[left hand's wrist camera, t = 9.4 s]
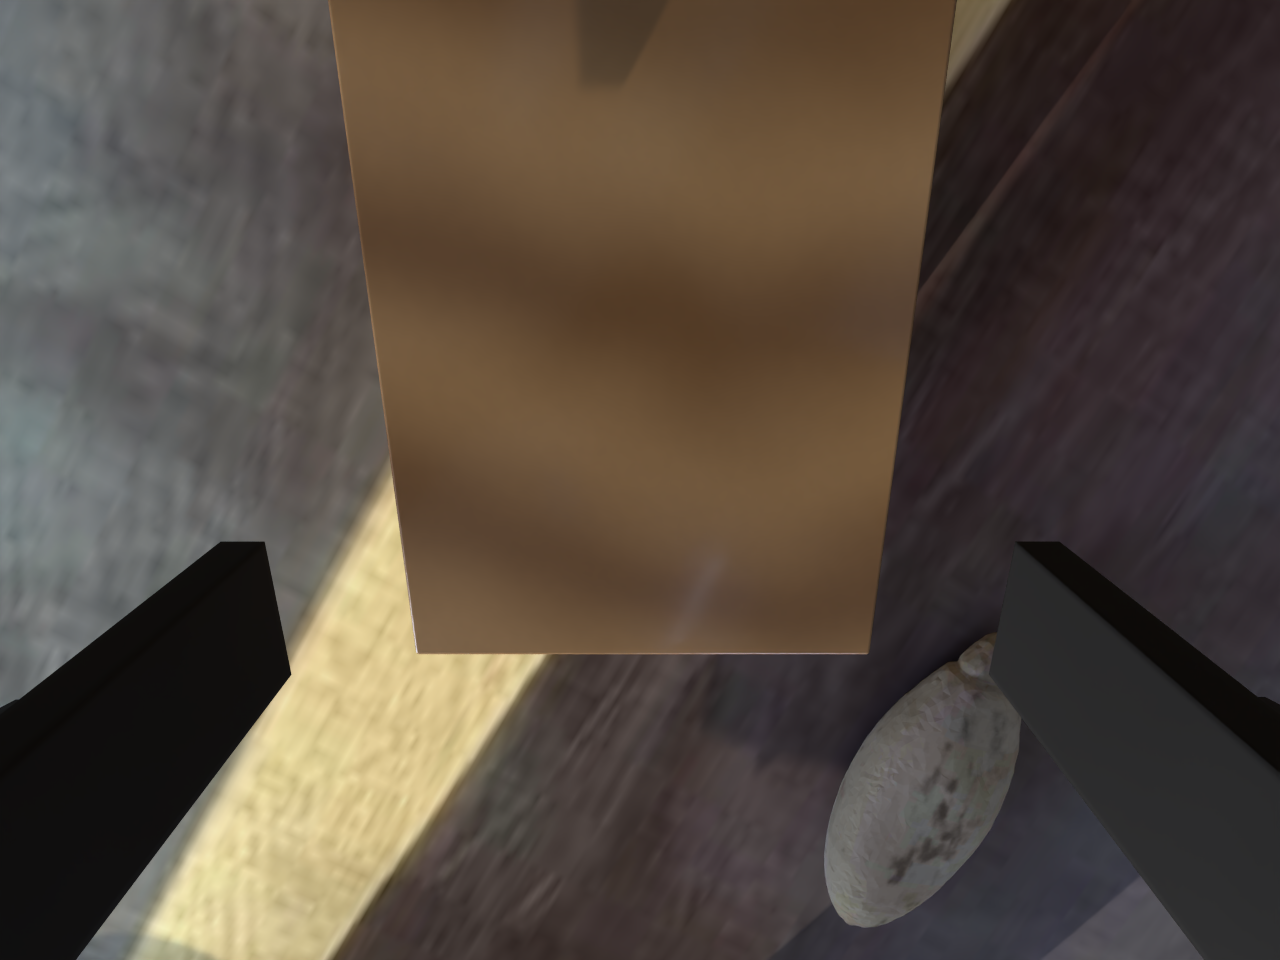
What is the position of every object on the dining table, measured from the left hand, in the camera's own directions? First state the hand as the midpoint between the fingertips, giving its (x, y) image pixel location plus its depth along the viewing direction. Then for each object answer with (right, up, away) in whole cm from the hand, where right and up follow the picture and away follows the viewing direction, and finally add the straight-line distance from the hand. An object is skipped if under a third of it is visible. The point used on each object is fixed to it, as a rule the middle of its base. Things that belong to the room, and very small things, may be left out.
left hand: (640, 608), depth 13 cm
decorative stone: (+12, -10, +19) cm, 25 cm away
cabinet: (0, +10, +12) cm, 15 cm away
